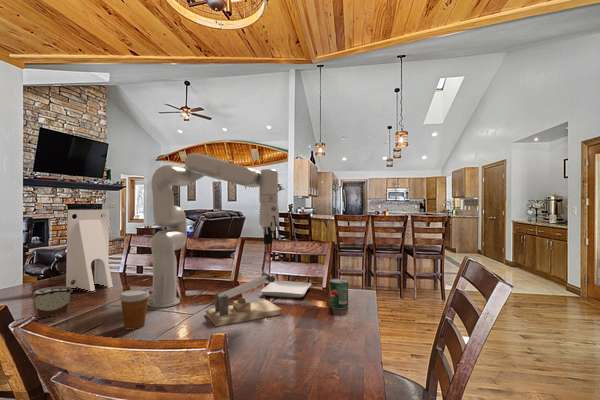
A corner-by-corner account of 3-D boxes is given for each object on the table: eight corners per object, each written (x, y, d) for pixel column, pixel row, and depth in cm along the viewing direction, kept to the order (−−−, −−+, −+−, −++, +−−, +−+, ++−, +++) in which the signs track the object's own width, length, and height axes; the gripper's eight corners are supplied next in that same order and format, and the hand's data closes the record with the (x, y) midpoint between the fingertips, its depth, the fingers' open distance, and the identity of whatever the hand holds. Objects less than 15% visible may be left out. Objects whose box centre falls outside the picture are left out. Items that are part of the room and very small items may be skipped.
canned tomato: (325, 306, 138) (326, 280, 139) (336, 302, 144) (337, 277, 144) (341, 310, 133) (341, 283, 133) (351, 306, 139) (352, 280, 139)
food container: (69, 308, 133) (69, 284, 133) (72, 312, 128) (72, 287, 129) (30, 315, 124) (30, 289, 124) (32, 320, 120) (32, 292, 120)
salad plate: (304, 300, 147) (304, 293, 147) (259, 297, 152) (259, 290, 152) (312, 289, 168) (312, 282, 168) (272, 286, 172) (272, 280, 172)
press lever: (223, 303, 119) (221, 297, 119) (217, 298, 126) (215, 292, 126) (277, 280, 131) (276, 274, 130) (268, 276, 137) (267, 271, 137)
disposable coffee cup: (128, 321, 119) (129, 288, 119) (154, 321, 119) (154, 288, 119) (113, 331, 110) (113, 295, 110) (140, 332, 109) (141, 296, 109)
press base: (216, 326, 115) (216, 300, 115) (206, 314, 127) (206, 291, 127) (281, 314, 128) (281, 291, 128) (266, 304, 140) (266, 283, 140)
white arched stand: (80, 294, 154) (81, 210, 155) (65, 290, 162) (67, 209, 162) (121, 285, 171) (123, 209, 172) (107, 282, 179) (108, 209, 179)
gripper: (285, 199, 129) (284, 245, 129) (269, 199, 142) (268, 241, 142) (267, 199, 125) (267, 246, 125) (253, 199, 138) (252, 242, 138)
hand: (268, 243), depth 133 cm, fingers closed
